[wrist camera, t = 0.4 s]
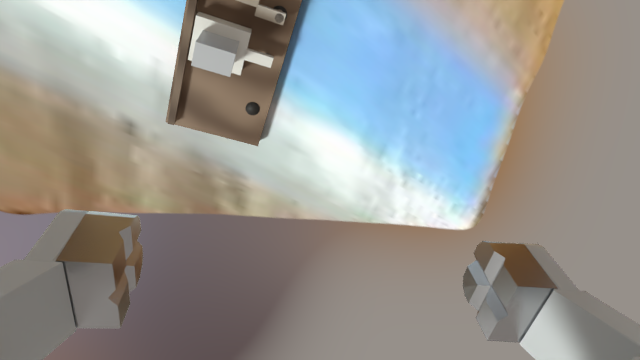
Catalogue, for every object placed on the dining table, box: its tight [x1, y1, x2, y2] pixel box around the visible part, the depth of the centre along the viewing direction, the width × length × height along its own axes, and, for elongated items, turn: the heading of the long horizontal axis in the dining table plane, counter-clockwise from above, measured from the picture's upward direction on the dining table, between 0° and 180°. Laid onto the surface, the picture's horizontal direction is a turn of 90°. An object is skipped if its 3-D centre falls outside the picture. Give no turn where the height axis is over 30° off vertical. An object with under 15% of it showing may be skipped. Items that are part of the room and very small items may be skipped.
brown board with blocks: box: [166, 0, 302, 146], centre depth 50 cm, size 20×12×4 cm, turn 161°
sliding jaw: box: [188, 12, 274, 77], centre depth 46 cm, size 5×9×7 cm, turn 71°
